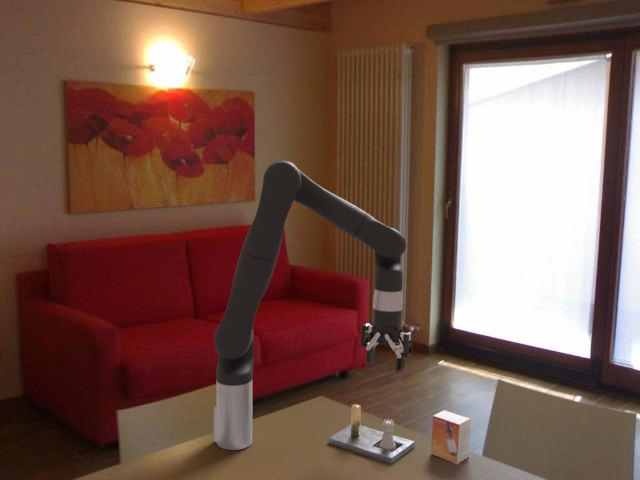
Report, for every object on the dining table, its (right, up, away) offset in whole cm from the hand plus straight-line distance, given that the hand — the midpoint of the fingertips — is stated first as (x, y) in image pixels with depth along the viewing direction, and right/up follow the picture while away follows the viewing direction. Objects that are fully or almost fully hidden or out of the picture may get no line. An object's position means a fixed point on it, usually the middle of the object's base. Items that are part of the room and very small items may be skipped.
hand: (385, 367), depth 178 cm
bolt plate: (-3, -21, +2) cm, 21 cm away
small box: (+16, -22, -3) cm, 27 cm away
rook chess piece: (0, -21, -1) cm, 21 cm away
